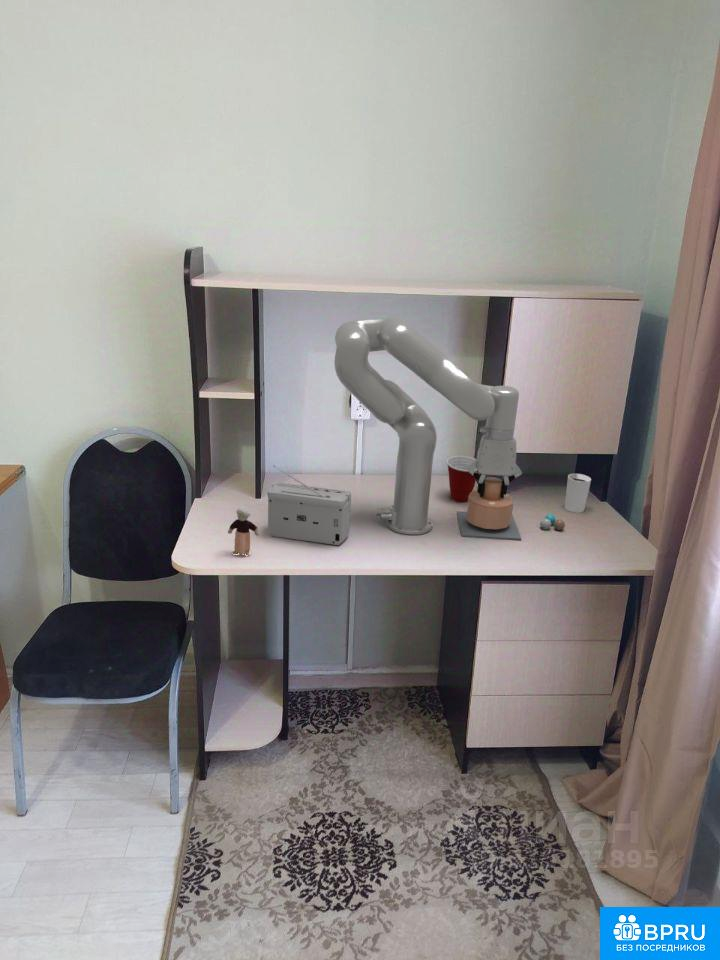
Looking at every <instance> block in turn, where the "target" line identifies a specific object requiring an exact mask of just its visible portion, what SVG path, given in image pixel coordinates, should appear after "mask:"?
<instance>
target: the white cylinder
mask: <svg viewBox="0 0 720 960" xmlns="http://www.w3.org/2000/svg"><path fill="white" fill-rule="evenodd" d="M591 482H592V478H591V477H590V476H588V475H585V474H582V473H570V474H568V475H567V483H566V484H567V485H566V491H565V499H564V500H565V501H564V509H565V510H566V511H569V512H571V513H578V514H579V513H583V512H585V508H586V504H587V500H588V495H589V492H590V487H591Z"/></svg>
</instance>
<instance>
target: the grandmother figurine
mask: <svg viewBox="0 0 720 960" xmlns="http://www.w3.org/2000/svg"><path fill="white" fill-rule="evenodd" d="M236 515H237V519H235V520H234V521H232V523H231V524H230V525H229V528H228V531H227V533H228V534H232V533H233V531H234V530H235V529H236V530H235V533H234V535H235V536H234V548H233V549H234V550H233V551H232V552H231V554H232V553H233V554H238V553H239V554H240V555H242V554H244V555H245V554H246V555H248V554H249V551H250V552H251V532H250V531H252V532H253V533H254V535H255V536H259V535H260V532H259V530H258V526H256V525H255V524H254V523H253V522H251V521H250V520H248V518H249V517H250V516H251V512H250V510H249V509H248V508H247V507H246V506H239V507H238V508H237V509H236Z"/></svg>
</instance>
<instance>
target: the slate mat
mask: <svg viewBox="0 0 720 960" xmlns="http://www.w3.org/2000/svg"><path fill="white" fill-rule="evenodd" d="M466 513H467V511H463V510H456V515H457V520H458V521H457V522H458V525H459V532H460V535H461V537H462V538H472V537H473V538H476V539H489V540H490V539H492V540H505V541H508V540H509V541H522V537H521V534H520V531H519V528H518V526H517V523H516V520H515V517H514V515H513V514H512V518H511V524H510V525H509V526H507V527H506V528H501V529H485V528H481V527H478V526H474V525H473V524H471V523H470V522H468V521H467V518H466Z"/></svg>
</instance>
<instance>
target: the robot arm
mask: <svg viewBox="0 0 720 960" xmlns="http://www.w3.org/2000/svg"><path fill="white" fill-rule="evenodd" d="M334 342H335V345H336V348H335V354H334V363H333V364H334V370H335V373H336V376H337V378H338V380H339V381H340V383H341V384H342V386H343V387H344V388H345V389H346V390H348V392H350V394H352V396H354V398H355V399H356V400H357V401H359V403H361V405H362V406H364V407H365V409H367V410H368V411H369V412H370V413H371V414H372V416H374V417H375V418H376V420H378V421H379V422H381V423H384V424H388V426H389V427H391V429H393V430H394V431H395V432H396V433H397V437H398V441H399V443H398V451H397V458H396V466H395V468H396V469H395V481H394V482H395V483H394V493H393V494H394V496H393V505H391V508H389V507H388V508H387V509H384V508H376V516H378V517H379V516H380V519H382V520H383V519H385V520H386V525H387V527H388V529H390V530H391V531H393V532H396V533H398V534H404V535H411V536H413V535H415V536H416V535H418V536H419V535H424V534H426V533H429V532H430V531H431V530H432V528H433V521H432V520H431V519H430V518H429V517H428V515H429V505H430V504H429V503H430V495H431V494H430V493H431V485H432V474H433V473H432V472H433V471H432V470H433V462H434V454H435V450H436V446H437V440H438V439H437V429H436V426H435V425H434V423H433V421H432V420H431V418H430V416H429V415H428V414H427V413H426V411H425V410H424V409H423V408H422V407H421V406H420V405H419V404H418V403H417V402H416V401H415V400H414V399H413V398H412V397H411V396H410V395H409V394H407V392H405V391H404V390H403V389H402V387H400V386H399V385H398V384H396V383H395V381H392V380H389V379H385V378H384V377H383V376H382V375H381V374H380V373H379V372H378V371H377V370H376V369H374V368H373V366H371V364H370V362H369V354H370V353H371V352H381V351H386V352H387V353H388V354H390V355H391V356H392V357H393V358H394V359H396V361H398V362H400V363H401V364H402V365H403V366H404V367H406V368H407V369H409V370H410V371H411V372H412V373H414V374H415V375H416V376H418V378H419V379H421V380H422V381H424V382H425V383H426V384H427V385H428V386H429V387H431V388H432V389H433V390H435V391H436V392H438V394H441V395H442V396H443V397H445V399H447V401H449V402H450V403H452V405H454V406H455V407H456V408H457V409H459V410H460V411H461V412H463V413H464V414H465V415H466V416H468V417H469V418H471V419H472V420H475V421H485V420H486V421H485V425H484V426H482V427H480V428H479V433H481V434H483V435H482V436H481V439H480V442H479V445H478V450H477V455H476V458H475V459H476V460H475V461H474V462H473V463H472V464H471V465H470V466H469V467H468V468H467V470H468V472H470V473H471V474H472V475H473V476H474V477H475V478H476V481H477V489H476V490H477V492H478V493H479V494H480V497H483V493H484V479H485V478H486V476H495V477H496V476H498V477H499V476H500V477H502V481H503V482H502V489H501V498H502V499H504V495H506V494H507V492H508V486H509V485H510V483H511V482H513V481H514V480H516V478H518V477H520V476H522V474H523V472H522V470H521V469H520V467H519V466H518V464H517V463H516V462H517V439H516V437H514V436H515V427H516V420H517V411H518V407H519V406H518V405H519V396H520V393H519V391H518V389H517V388H515V387H513V386H508V385H496V386H492V385H487V384H482V383H476V382H475V381H473V380H472V379H471V378H470V377H469V376H468V375H466V374H465V373H464V372H463V371H462V370H461V369H460V368H459V367H458V366H457V365H456V364H455V363H454V361H453V360H452V359H451V358H449V356H448V355H447V354H446V353H444V352H443V351H442V350H440V349H439V348H438V347H437V346H436V345H435V344H433V343H432V342H430V341H429V340H428V339H427V338H425V336H423V335H421V334H420V333H419V332H418V331H416V329H415V328H414V327H412V326H411V325H409V324H408V322H407V321H405V320H404V319H403V318H400V317H385V318H384V317H383V318H371V319H361V320H350V321H347V322H344V323H342V324H341V325H340V326H339V327H338V328H337V330H336V333H335V335H334ZM476 467H477V471H478V473H477V472H476V471H475V470H474V469H475V468H476Z"/></svg>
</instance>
